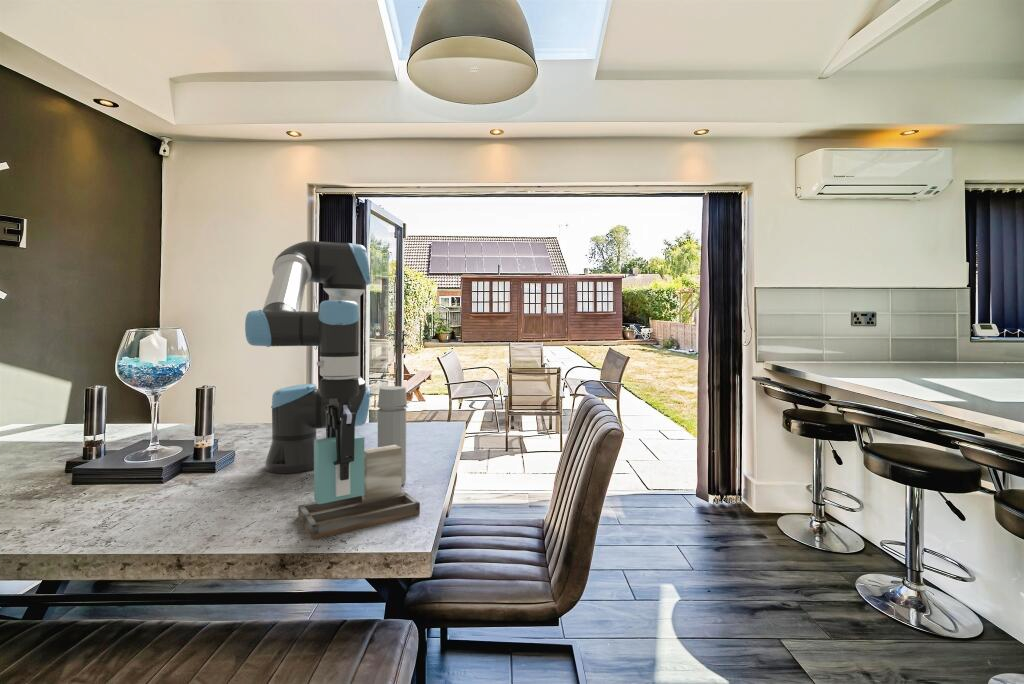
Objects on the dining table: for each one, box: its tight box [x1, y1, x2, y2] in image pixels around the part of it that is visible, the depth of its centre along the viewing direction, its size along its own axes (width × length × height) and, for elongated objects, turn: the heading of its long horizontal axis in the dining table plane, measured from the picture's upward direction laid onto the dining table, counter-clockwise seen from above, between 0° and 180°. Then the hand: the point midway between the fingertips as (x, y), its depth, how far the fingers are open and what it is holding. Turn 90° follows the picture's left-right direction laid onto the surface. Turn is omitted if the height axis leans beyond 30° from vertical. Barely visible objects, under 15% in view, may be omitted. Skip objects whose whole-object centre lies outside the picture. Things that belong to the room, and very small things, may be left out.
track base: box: [297, 445, 421, 541], centre depth 101 cm, size 13×22×13 cm, turn 126°
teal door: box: [313, 433, 365, 504], centre depth 96 cm, size 4×9×12 cm, turn 126°
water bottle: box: [376, 385, 409, 486], centre depth 122 cm, size 9×8×25 cm
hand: (339, 491), depth 96 cm, fingers closed on teal door, 3 cm apart
